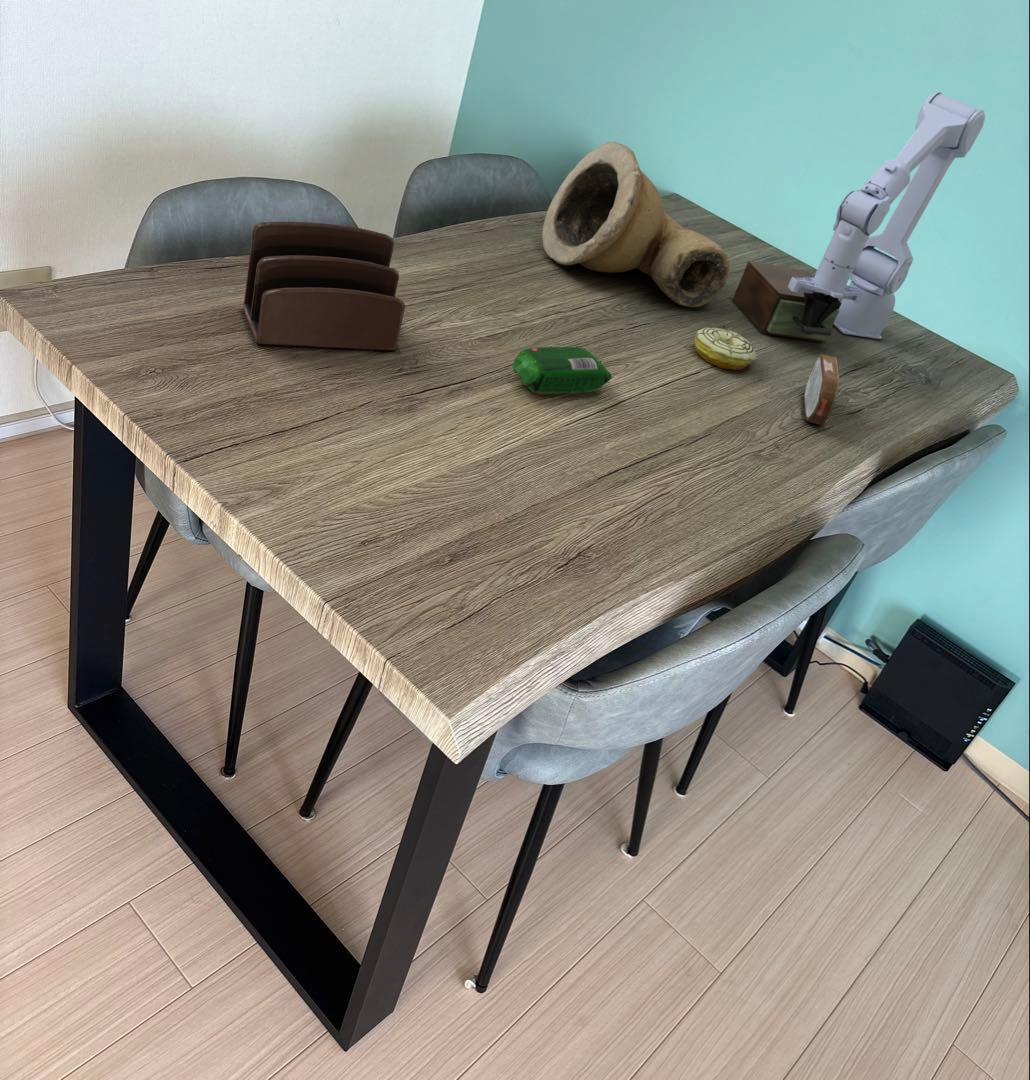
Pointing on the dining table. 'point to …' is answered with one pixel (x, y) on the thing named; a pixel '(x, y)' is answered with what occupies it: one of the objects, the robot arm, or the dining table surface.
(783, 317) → the drawer
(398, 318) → the letter holder
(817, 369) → the tin
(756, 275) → the cabinet
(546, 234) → the pipe
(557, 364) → the snack package
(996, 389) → the dining table surface
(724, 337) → the decorated donut
